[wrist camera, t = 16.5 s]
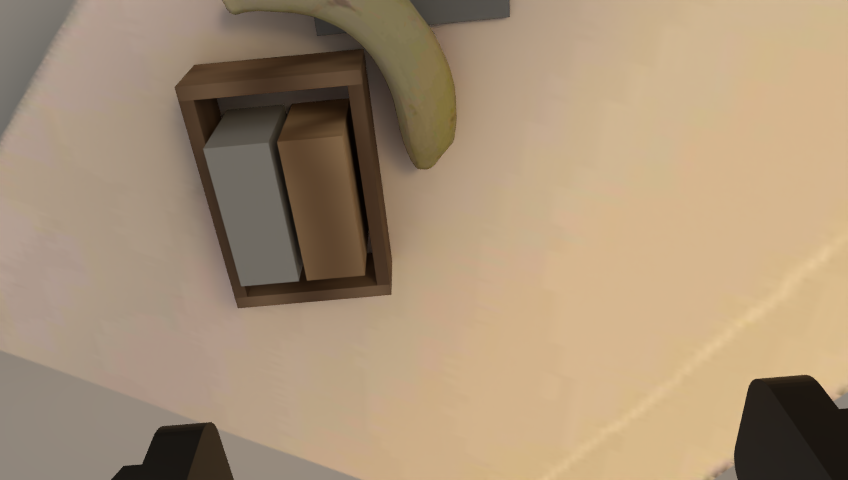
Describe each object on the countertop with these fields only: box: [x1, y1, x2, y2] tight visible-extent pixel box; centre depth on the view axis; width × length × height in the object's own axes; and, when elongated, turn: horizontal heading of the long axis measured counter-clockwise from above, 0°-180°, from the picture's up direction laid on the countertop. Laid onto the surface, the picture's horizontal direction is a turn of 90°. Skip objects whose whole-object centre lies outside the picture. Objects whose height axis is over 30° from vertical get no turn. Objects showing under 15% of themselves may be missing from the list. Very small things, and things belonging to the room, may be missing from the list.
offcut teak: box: [277, 98, 369, 281], centre depth 41 cm, size 4×9×6 cm, turn 5°
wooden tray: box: [175, 49, 392, 308], centre depth 42 cm, size 10×15×4 cm
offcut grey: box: [203, 105, 303, 286], centre depth 41 cm, size 4×9×6 cm, turn 5°
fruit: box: [222, 0, 456, 169], centre depth 38 cm, size 7×15×3 cm, turn 46°
